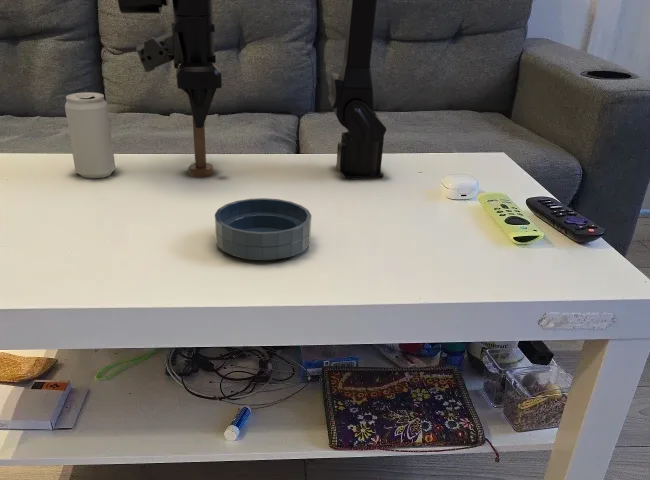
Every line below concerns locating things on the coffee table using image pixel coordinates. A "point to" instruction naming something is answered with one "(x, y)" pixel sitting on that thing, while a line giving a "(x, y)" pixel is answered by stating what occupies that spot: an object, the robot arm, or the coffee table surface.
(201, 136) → the rod
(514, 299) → the coffee table surface
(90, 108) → the beverage can
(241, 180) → the coffee table surface
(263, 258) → the bowl
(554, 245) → the coffee table surface
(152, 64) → the robot arm
